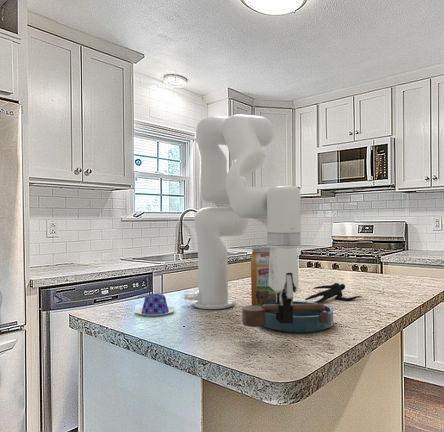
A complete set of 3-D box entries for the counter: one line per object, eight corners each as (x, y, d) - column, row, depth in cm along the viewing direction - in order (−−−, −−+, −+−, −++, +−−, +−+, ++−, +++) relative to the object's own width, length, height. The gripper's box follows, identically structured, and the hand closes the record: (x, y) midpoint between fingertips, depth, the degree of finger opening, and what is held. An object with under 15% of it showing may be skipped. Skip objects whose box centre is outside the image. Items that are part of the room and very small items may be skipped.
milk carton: (288, 306, 130) (287, 246, 130) (288, 314, 119) (287, 248, 119) (255, 305, 132) (254, 246, 132) (251, 313, 121) (250, 248, 122)
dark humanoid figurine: (323, 287, 123) (359, 273, 141) (299, 292, 129) (337, 278, 147) (331, 314, 122) (367, 296, 140) (307, 318, 128) (344, 300, 146)
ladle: (243, 327, 91) (243, 307, 91) (240, 321, 96) (240, 302, 96) (330, 325, 92) (330, 306, 92) (323, 319, 97) (322, 301, 97)
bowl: (265, 334, 99) (265, 318, 99) (253, 315, 118) (252, 301, 118) (344, 332, 99) (344, 316, 99) (319, 314, 119) (318, 300, 119)
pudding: (152, 319, 115) (152, 300, 115) (126, 313, 124) (126, 295, 124) (183, 312, 124) (183, 294, 124) (157, 306, 132) (157, 290, 132)
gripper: (261, 238, 101) (261, 313, 102) (274, 243, 86) (275, 331, 86) (291, 238, 102) (291, 312, 102) (310, 243, 86) (310, 331, 86)
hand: (284, 320), depth 94 cm, fingers closed on ladle
